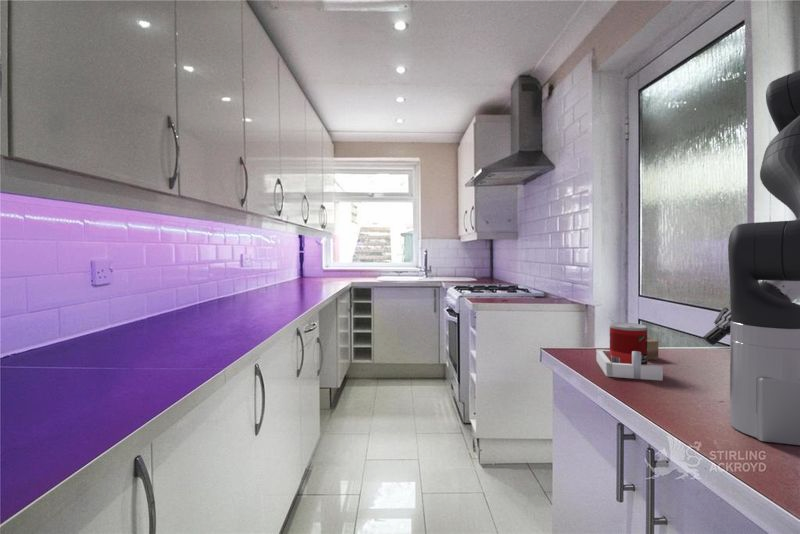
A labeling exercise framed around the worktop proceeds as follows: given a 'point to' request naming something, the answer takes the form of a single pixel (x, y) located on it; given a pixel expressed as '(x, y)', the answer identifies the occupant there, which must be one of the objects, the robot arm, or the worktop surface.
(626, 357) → the canned food
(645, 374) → the tray
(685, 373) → the worktop surface
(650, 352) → the walnut block
